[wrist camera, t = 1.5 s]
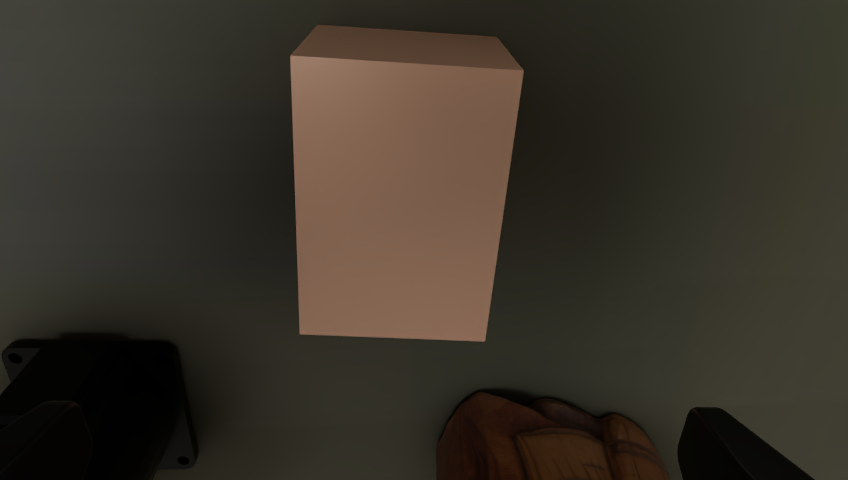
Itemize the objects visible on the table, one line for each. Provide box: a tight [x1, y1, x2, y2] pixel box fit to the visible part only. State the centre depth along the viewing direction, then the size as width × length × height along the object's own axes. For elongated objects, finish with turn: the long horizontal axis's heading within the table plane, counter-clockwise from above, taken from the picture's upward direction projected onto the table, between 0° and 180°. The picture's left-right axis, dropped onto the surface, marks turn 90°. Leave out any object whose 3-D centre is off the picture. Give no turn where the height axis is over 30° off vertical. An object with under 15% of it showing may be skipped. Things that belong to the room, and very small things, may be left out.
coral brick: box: [290, 25, 524, 342], centre depth 18 cm, size 8×6×5 cm
